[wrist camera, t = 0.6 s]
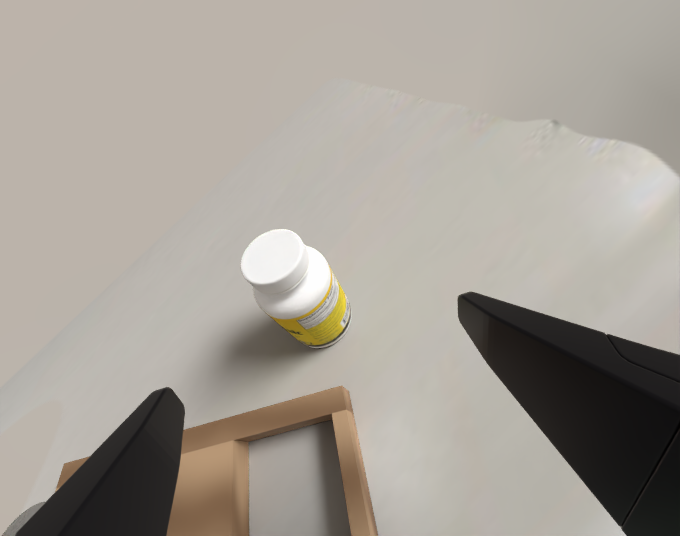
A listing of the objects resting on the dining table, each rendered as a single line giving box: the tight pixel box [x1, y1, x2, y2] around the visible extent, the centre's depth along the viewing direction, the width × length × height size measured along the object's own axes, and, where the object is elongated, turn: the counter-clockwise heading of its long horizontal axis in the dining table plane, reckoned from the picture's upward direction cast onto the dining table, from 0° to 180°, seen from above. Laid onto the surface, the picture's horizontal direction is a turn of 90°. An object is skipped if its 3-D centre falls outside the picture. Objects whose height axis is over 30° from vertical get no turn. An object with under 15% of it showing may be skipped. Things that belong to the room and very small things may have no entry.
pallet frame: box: [55, 386, 378, 536], centre depth 19 cm, size 10×22×2 cm, turn 102°
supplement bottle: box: [241, 229, 352, 348], centre depth 21 cm, size 5×5×10 cm
